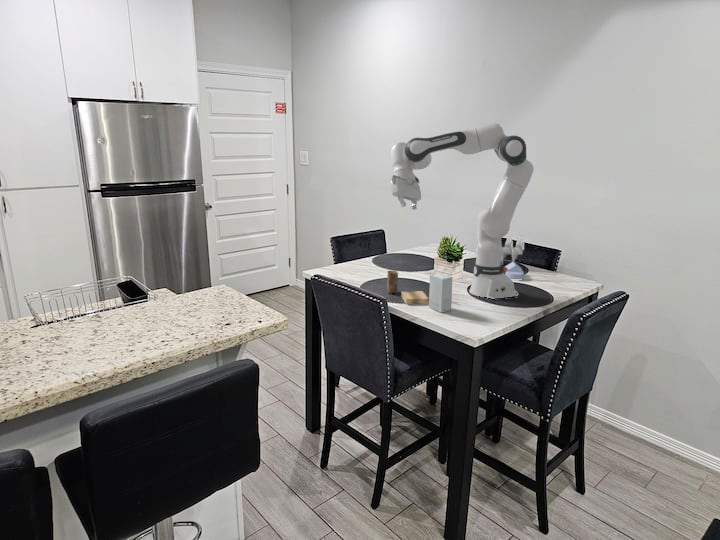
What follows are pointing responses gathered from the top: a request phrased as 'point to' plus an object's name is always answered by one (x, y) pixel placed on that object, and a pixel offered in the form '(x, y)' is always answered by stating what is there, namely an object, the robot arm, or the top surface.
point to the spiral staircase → (511, 249)
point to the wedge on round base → (514, 271)
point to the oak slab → (414, 297)
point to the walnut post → (392, 281)
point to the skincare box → (440, 292)
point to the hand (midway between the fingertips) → (409, 207)
